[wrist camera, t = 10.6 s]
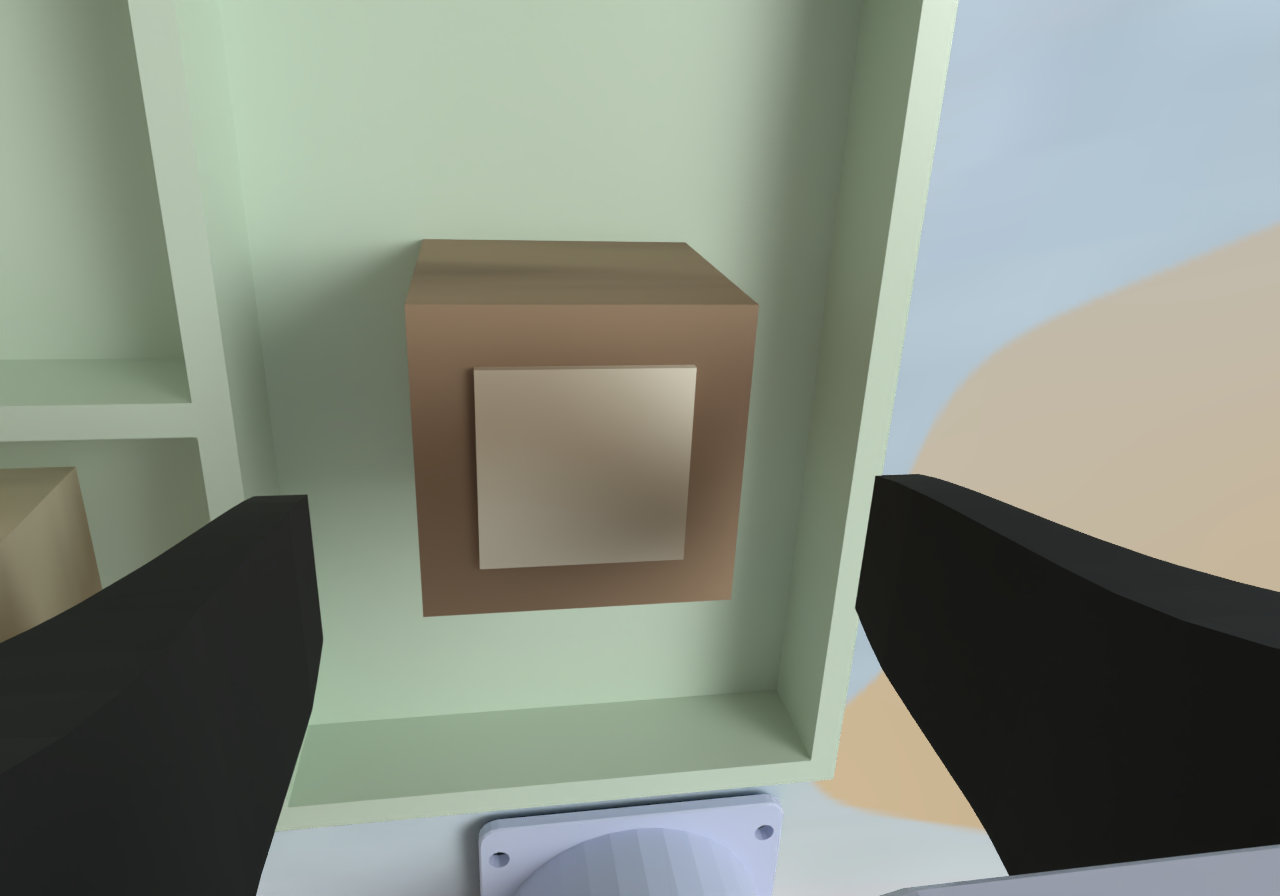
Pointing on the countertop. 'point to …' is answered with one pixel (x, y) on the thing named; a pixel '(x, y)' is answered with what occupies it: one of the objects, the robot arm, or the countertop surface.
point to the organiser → (377, 346)
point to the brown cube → (575, 423)
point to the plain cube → (42, 547)
